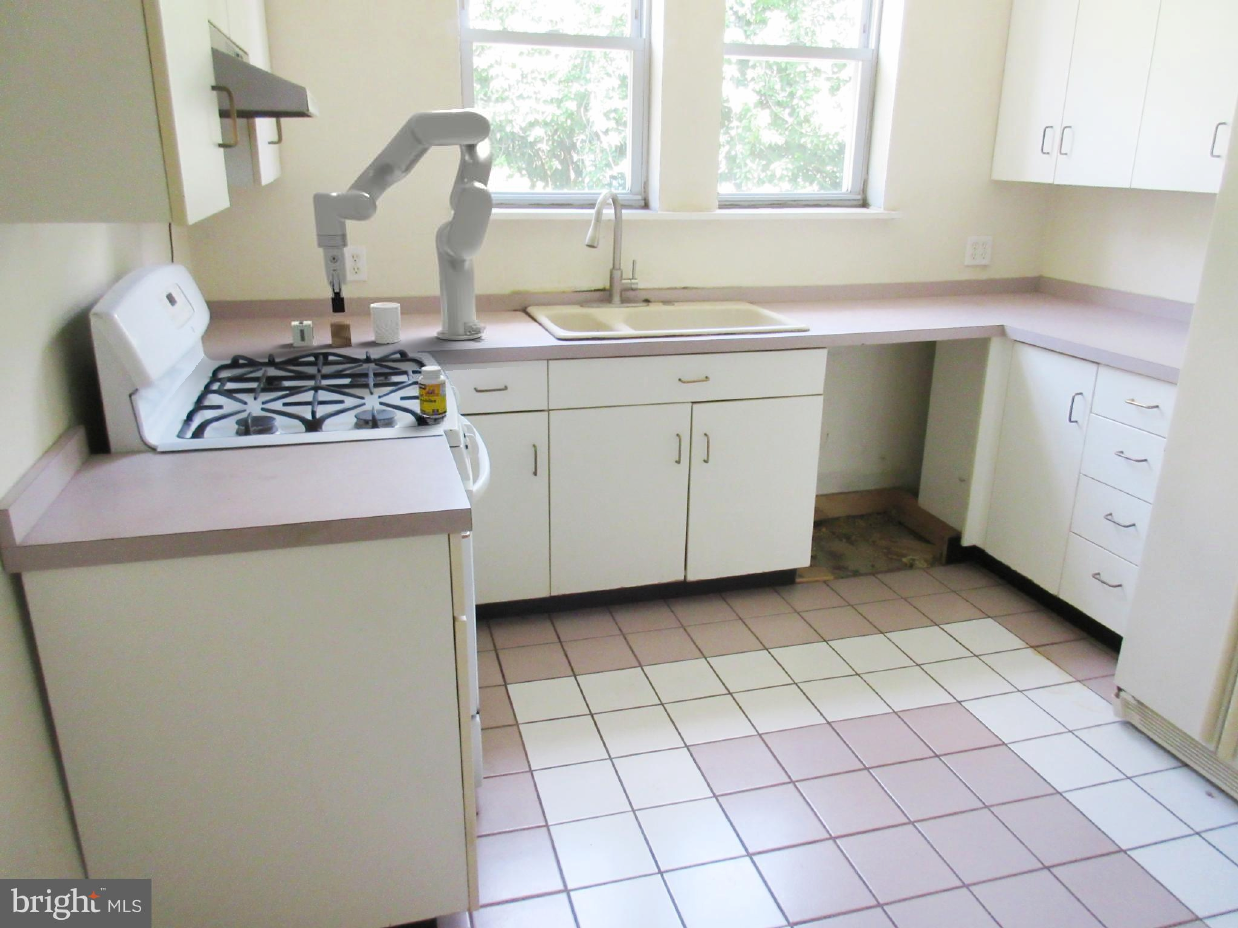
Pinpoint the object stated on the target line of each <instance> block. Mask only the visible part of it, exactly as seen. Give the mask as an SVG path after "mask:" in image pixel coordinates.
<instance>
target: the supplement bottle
mask: <svg viewBox="0 0 1238 928" xmlns="http://www.w3.org/2000/svg"><path fill="white" fill-rule="evenodd" d="M417 382H418V383H417V384H418V399H419V402H418V403H419V414H420V413H421V414H422V415H426V416H429V417H431V418H430V419H441V418H443V417H445V416H446V415H447V414H448V409H447V408H448V406H447V405H448V403H447V385H446V377H445V376H443V375H442V368H441V367H440V366H437V365H427V366H423V367H421V376H420V377H419V378H418V380H417ZM446 413H447V414H446ZM421 414H420V415H421ZM445 414H446V415H445ZM444 415H445V416H444ZM442 416H443V417H442Z"/></svg>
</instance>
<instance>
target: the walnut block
mask: <svg viewBox="0 0 1238 928" xmlns="http://www.w3.org/2000/svg"><path fill="white" fill-rule="evenodd" d="M350 322H351V321H350V320H340V321H339V320H336V321H335V320H334V321H330V322H329V325H330V327H329V328H330V336H331V338H330V339H331V347H332V348H342V347H343V348H347V347H353V346H352V344H353V343H352V333H351V323H350Z"/></svg>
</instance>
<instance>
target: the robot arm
mask: <svg viewBox="0 0 1238 928" xmlns="http://www.w3.org/2000/svg"><path fill="white" fill-rule="evenodd" d="M490 132H491V123H490V119H489V118H488V116H487V115H486V113H485V112H483V111H482V110H479V109H477V108H464V109H451V110H422V111H417V112H415V113H413V114H412V115H411V116H410V117H409V118H408V119H407V121H406V122H405V123H404V124H403V125H402V127H401V128H400V129H399V130H398V131H397V132H396V133H395V135H394V136H393V137H392V138H391V139H390V141H389V142H388V143H387V144H386V146H385V147H384V148H383V149H382V150H381V151H380V152H379V154H377V155H376V157H375V158H374V159H373V160H372V161H371V163H370V164H369V165H367V166H366V168H365V169H364V170H363V171H362V172H361V173H360V174H359V175H358V176H357V178H356V179H355V180H354V181H353V183H351V185H350V186H349V187H348V188H347V189H346V190H345V192H339V191H334V190H332V191H325V190H324V191H317V192H315V193H313V196H312V204H313V213H314V222H315V235H316V244H317V245H316V246H317V248H318V249H322V254H323V255H322V256H323V263H324V264H323V265H324V271H325V276H326V282H327V285H328V287H330V288H331V296H330V299H331V308H332V309H331V310H332V313H333V314H338V313H339V314H340V313H341V314H342V313H345V312H346V306H345V296H343V286H344V287H345V288H346V287H348V274H347V262H346V255H345V254H346V253H345V248H348V246H349V244H348V235H347V234H348V232H347V223H346V222H347V221H355V222H366V221H369V220H371V219H372V218H374V216H375V215H376V213H377V208H378V206H377V202H378V200H379V199H380V198H381V197H382V195H383V194H384V193H386V192H387V190H389V189H390V188H391V187H392V186H394V185H395V184H397V183H399V182H401V181H402V180H404V179H405V178H406V177H407V176H409V175H410V174H411V172H412V170H413V169H414V168H415V167H417V166H416V165H417V164H419V162H420V161H421V160H422V158H423V157H425V155H426V154H427V153H428V152H429V150H430V149H431V148H432V147H446V146H449V147H450V146H451V147H452V146H459V150H460V151H459V152H460V158H459V163H458V164H459V165H458V169H457V171H456V176H455V179H454V181H453V184H452V189H451V191H450V195H449V205H450V208H451V210H452V211H453V215H452V218H451V219H450V220H447V221H444V222H442V223H441V224H440V225H439V227H438V228H437V230H436V233H435V239H434V240H435V248H436V257H437V264H438V276H439V278H438V279H439V296H440V297H439V298H440V300H439V301H440V313H441V315H440V317H441V329H440V330H437V331H436V337H437V338H439V339H441V340H448V341H465V340H474V339H478V338H480V337H482V336H483V334H484V333H485V331H486V330H487V327H486V325H480V320H479V319H477V314H476V311H477V310H476V290H475V288H476V287H475V270H474V259H473V258H474V257H475V256H476V255H477V254H478V253H479V251H480V250H481V248H482V245H483V242H484V239H485V235H486V232H487V230H488V225H489V223H490V219H491V215H492V212H493V206H494V205H493V201H494V200H493V197H492V193H491V191H490V190H489V189H488V183H489V180H490V175H491V171H492V168H493V167H492V166H493V160H494V159H493V157H494V156H493V147H492V144H491V142H490V139H489V135H490Z"/></svg>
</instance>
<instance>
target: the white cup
mask: <svg viewBox="0 0 1238 928" xmlns="http://www.w3.org/2000/svg"><path fill="white" fill-rule="evenodd" d="M369 308H370V316H371V325H372V331H373V333H374V334H373V336H374V342H375V343H378V344H383V345H384V344H387V343H389V344H395V343H399V342H400V341H401V304H400V303H399V302H376V303H372V304H370V305H369ZM387 345H388V344H387Z"/></svg>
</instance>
